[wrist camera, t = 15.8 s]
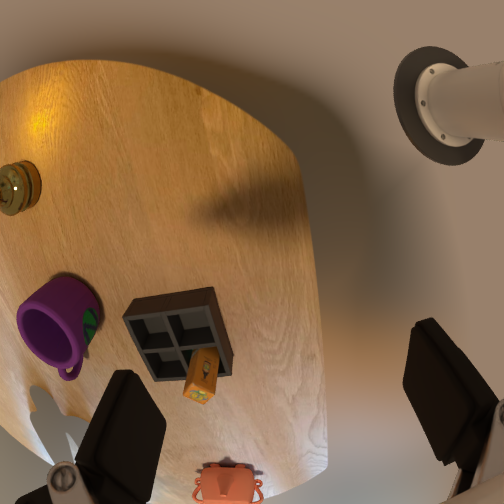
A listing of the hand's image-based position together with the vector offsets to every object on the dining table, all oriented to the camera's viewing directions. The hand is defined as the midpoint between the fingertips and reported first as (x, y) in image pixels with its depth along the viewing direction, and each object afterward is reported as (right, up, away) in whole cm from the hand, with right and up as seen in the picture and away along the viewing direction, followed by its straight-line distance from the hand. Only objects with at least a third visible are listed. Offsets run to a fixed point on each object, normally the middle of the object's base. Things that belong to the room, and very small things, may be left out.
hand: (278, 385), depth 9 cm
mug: (-29, -6, +33) cm, 44 cm away
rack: (-11, -7, +33) cm, 35 cm away
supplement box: (-7, -9, +33) cm, 35 cm away
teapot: (-7, -51, +50) cm, 72 cm away
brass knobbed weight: (-35, +14, +25) cm, 45 cm away
